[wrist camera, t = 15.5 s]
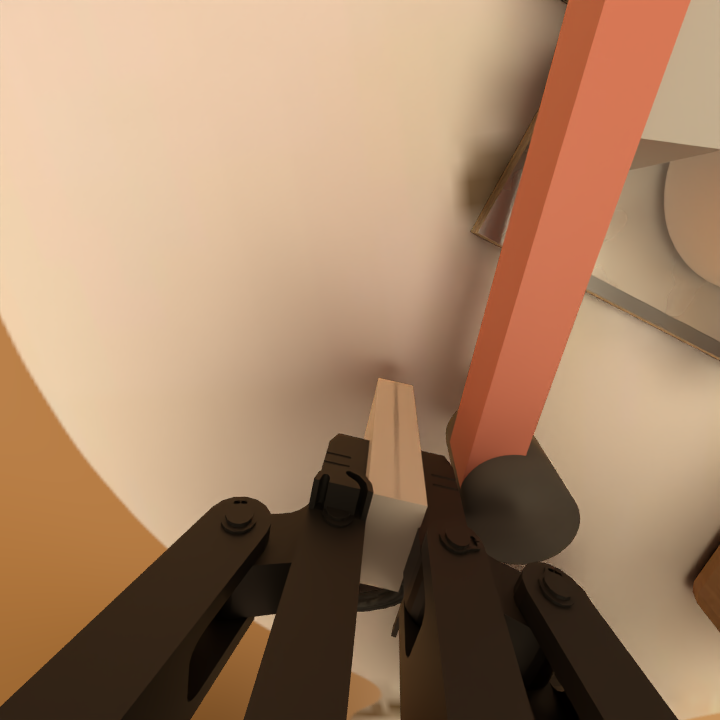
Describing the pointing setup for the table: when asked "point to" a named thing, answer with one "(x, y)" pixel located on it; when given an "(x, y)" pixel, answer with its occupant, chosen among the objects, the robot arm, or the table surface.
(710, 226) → the mug
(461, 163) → the table surface
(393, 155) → the table surface
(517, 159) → the metal tray
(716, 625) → the wooden block
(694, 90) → the lever
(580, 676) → the robot arm
